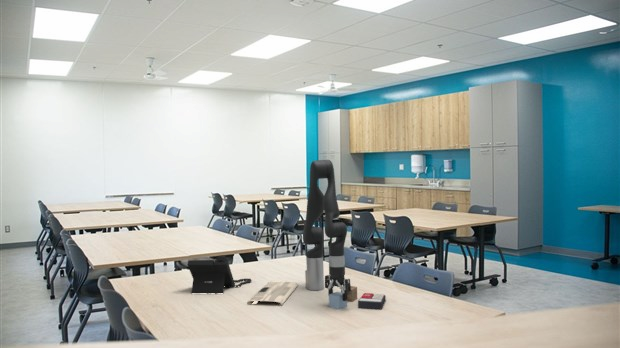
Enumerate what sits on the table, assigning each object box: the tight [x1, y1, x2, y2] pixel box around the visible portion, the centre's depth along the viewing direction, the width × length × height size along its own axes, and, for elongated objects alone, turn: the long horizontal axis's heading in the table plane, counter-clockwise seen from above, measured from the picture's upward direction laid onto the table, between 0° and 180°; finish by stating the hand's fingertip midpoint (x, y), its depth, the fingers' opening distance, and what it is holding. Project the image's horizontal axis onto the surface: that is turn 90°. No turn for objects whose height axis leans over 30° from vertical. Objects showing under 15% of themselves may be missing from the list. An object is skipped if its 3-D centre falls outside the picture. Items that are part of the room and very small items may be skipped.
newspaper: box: [246, 280, 299, 307], centre depth 236 cm, size 37×19×3 cm, turn 169°
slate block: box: [328, 291, 348, 310], centre depth 213 cm, size 6×6×6 cm
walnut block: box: [340, 285, 358, 303], centre depth 224 cm, size 6×6×6 cm
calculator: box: [357, 292, 387, 311], centre depth 216 cm, size 11×4×15 cm
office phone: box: [187, 255, 253, 294], centre depth 254 cm, size 29×28×20 cm
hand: (337, 299), depth 213 cm, fingers open, 8 cm apart
